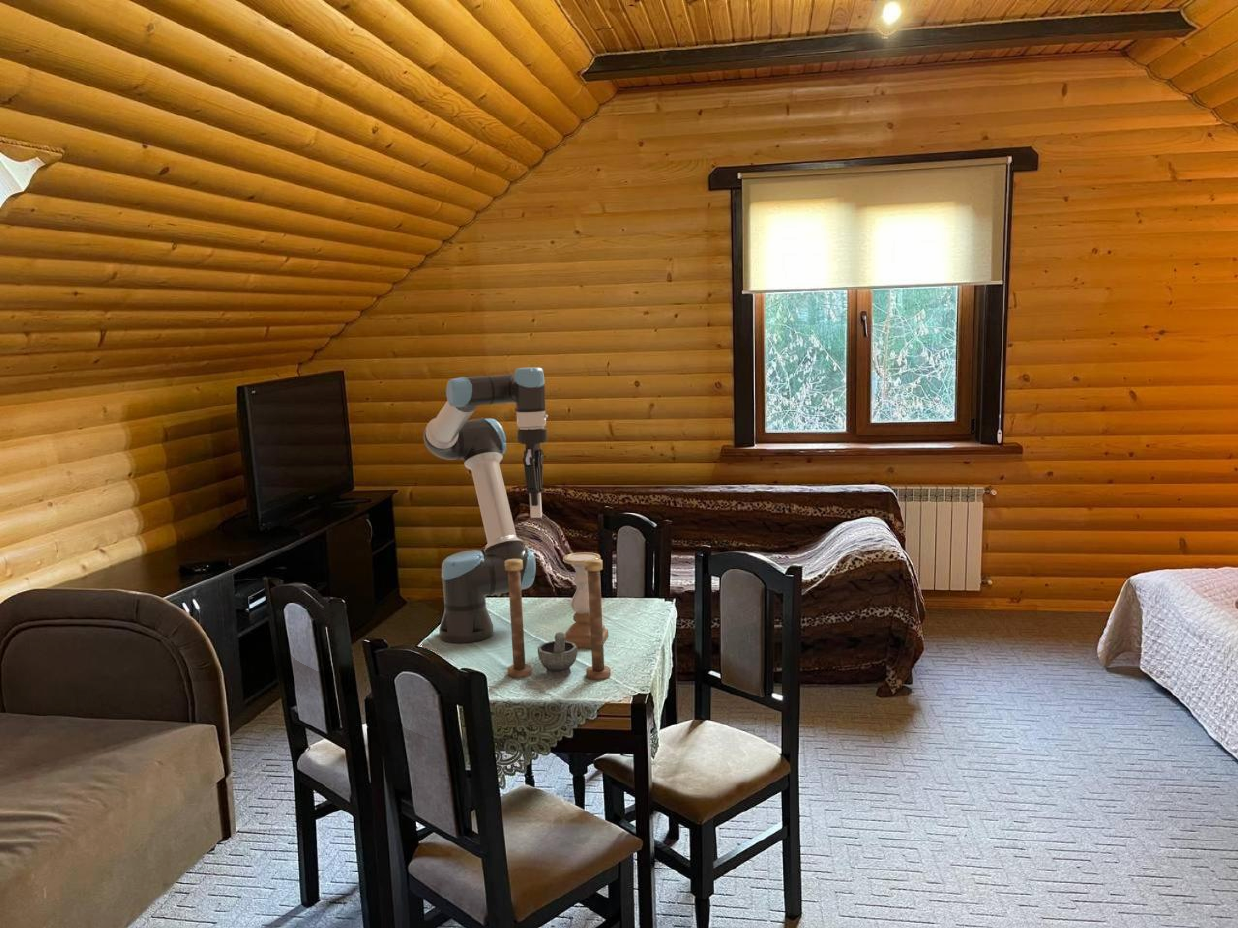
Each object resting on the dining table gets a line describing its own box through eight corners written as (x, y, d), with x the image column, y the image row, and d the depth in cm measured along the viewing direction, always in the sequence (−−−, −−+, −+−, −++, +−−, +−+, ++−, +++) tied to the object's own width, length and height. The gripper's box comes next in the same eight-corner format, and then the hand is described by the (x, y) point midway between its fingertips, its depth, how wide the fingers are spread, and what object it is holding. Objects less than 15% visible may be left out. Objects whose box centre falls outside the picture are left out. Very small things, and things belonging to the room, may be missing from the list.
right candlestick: (584, 679, 228) (578, 564, 224) (588, 670, 234) (583, 557, 230) (608, 680, 227) (603, 563, 223) (612, 671, 233) (607, 557, 229)
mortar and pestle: (536, 669, 236) (534, 623, 234) (572, 664, 238) (570, 619, 237) (544, 685, 225) (542, 637, 224) (582, 680, 228) (580, 632, 226)
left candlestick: (504, 677, 231) (498, 564, 227) (511, 668, 237) (505, 557, 232) (528, 678, 230) (522, 564, 226) (534, 669, 236) (528, 557, 232)
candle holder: (600, 648, 250) (596, 561, 246) (560, 647, 252) (556, 561, 248) (609, 635, 260) (605, 551, 257) (571, 634, 262) (567, 551, 259)
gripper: (540, 430, 234) (544, 522, 238) (551, 424, 247) (555, 512, 250) (511, 430, 235) (516, 522, 239) (524, 425, 248) (528, 512, 251)
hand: (536, 517), depth 245 cm, fingers closed
